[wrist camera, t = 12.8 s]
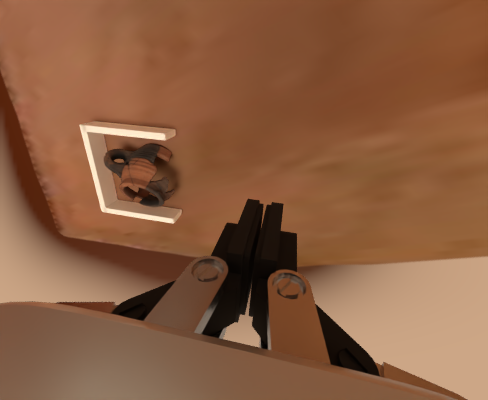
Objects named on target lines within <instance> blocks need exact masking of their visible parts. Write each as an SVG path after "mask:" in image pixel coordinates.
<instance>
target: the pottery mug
mask: <svg viewBox="0 0 488 400" xmlns="http://www.w3.org/2000/svg"><path fill="white" fill-rule="evenodd" d="M171 154H172V153H171V152H170V151H169V150H168V149H166V148H164V147H161V146H159V145H155V144H146V145H144V146H143V147H141V148H139V149H138V150H136V151H127V150H123V149H113V150H110V151H108V152H106V153H105V156H104V164H105V166H106V167H107V168H108V169H109V170H111V171H112V172H114V173H116V174H117V175H118V176H119V177H120V178H121V182H122V183H121V184H120V186H119V188H120V191H121V192H122V193H123V194H124V195H125V196H126V197H127V198H129V199H131V200H134V198H135V197H138V198H140V199H142V200H141V201H140V204H142V205H144V206H149V207H160V206H162V205H163V204H164V201H165V200H167V199H169V198H170V197H171V195H172V194H173V193H174V191H175V190H174V189H173V190H171V191H168V192H166V191H167V189H168V183H169V180H168V179H167V177H163V178H162V180H158V181H151V179H152V178H153V176H154V175H155V174H156V172H157V168H156V166H155V165H154V161H155V158H156V157H159V158H161V159H163V160H165V161H169V159H170V156H171ZM115 159H123V160H124V163H117V162H114V161H113V160H115ZM128 186H135V187H139V191H138V193H137V192H135V191H133V190H132V189H130V188H129V187H128ZM150 192H151V193H153V194H154V195H155V196H156V197H154V196H152V195H150V194H149V193H150Z"/></svg>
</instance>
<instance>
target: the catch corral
mask: <svg viewBox="0 0 488 400" xmlns="http://www.w3.org/2000/svg"><path fill="white" fill-rule="evenodd" d="M80 129H81V133H82V137H83V140H84V144H85V148H86V152H87V156H88V160H89V164H90V167H91V171H92V175H93V179H94V183H95V187H96V191H97V195H98V198H99V202H100V206H101V210H102V212H106V213H112V214H118V215H124V216H130V217H137V218H143V219H149V220H155V221H161V222H167V223H173V224H174V223H175V221H176V220H177V219H178V218H179V217H180V216H181V214H182V209H176V208H169V207H163V206H160V207H149V206H144V205H142V204H140V203H137V202H130V201H124V200H118V198H117V193H116V189H115V184H114V180H113V175H112V171H111V170H109V169H108V168H107V167H106V166H105V164H104V156H105V153H106V152H107V147H106V143H105V138H104V134H112V135H121V136H130V137H139V138H148V139H157V140H168V139H170V138H172V137H174V136H176V131H175V129H168V128H158V127H148V126H138V125H128V124H119V123H109V122H99V121H94V122H90V123H85V124H80Z"/></svg>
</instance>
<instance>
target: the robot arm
mask: <svg viewBox="0 0 488 400" xmlns="http://www.w3.org/2000/svg"><path fill="white" fill-rule="evenodd" d="M259 202H260V201H259V200H252V199H248V200H247V202H246V205H245V207H244V210H243V212H242V215H241V217H240V220H239V222H238V224H233V223H227V224H226V226H225V228H224V230H223V232H222V234H221V236H220V238H219V240H218V242H217V244H216V246H215V248H214V250H213V252H212V255H211V256H203V257H199V258H197V259H195V260H194V261H192V262H191V263H190V264H189V265H188V267H187V268H186V269H185V270H184V272H183V273H182V274H181V275H180V277H179V278H178V279H177V280H175V281H173V282H170V283H168V284H165V285H163V286H160V287H158V288H156V289H153V290H150V291H148V292H145V293H143V294H141V295H138V296H136V297H133V298H131V299H128V300H126V301H124V302H122V303H121V304H120V305H115V302H58V303H46V302H33V301H32V302H7V303H0V400H467V399H465V398H464V397H462V396H460V395H458V394H456V393H454V392H452V391H449V390H447V389H444V388H442V387H440V386H437V385H435V384H433V383H431V382H428V381H426V380H424V379H422V378H419V377H417V376H415V375H412V374H410V373H408V372H405V371H403V370H401V369H398V368H396V367H394V366H391V365H389V364H387V363H385V362H383V364H382V365H380V364H378V363H375V362H374V361H373V359H372V358H371V357H370V355H369V354H368V353H367V352H366V351H365V350H364V349H363V348H362V347H361V346H360V345H359V344H357V343H356V341H354V340H353V339H352V338H351V337H350V336H349V335H348V334H347V333H346V332H345V331H344V330H343V329H342V328H341V327H339V325H337V324H336V323H335V322H334V321H333V320H332V319H331V318H330V317H329V316H328V315H327V314H326V313H325V312H323V310H322V309H321V308H319V307H318V306H317V305H316V304H315V301H314V298H313V294H312V290H311V286H310V284H309V282H308V280H307V279H306V278H305V277H304V276H302V275H301V274H299V273H297V234H296V233H291V232H284V231H281V222H282V213H283V204H281V203H274V202H272V204H271V205H267V206H266V211H265V215H264V219H263V223H262V214H263V204H259ZM261 224H262V228H261ZM251 284H252V288H251ZM250 289H251V299H250V308H249V316H251V317H253V322H252V326H253V328H254V329H255V330H256V332H257V333H258V334H259V336H260V341H259V348H258V347H254V346H250V345H245V344H241V343H237V342H232V341H228V340H223V337H224V335H225V332H226V327H227V326H229V325H230V324H232V323H234V322H238V320H239V316H240V314H242V315H245V312H246V307H247V302H248V298H249V293H250Z"/></svg>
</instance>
